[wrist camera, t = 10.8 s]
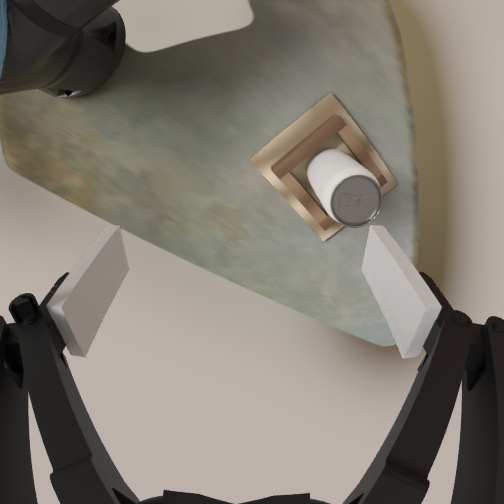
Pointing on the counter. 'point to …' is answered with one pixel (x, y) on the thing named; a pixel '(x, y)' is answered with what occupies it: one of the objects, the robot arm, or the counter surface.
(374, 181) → the can
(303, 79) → the counter surface
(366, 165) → the keeper board
